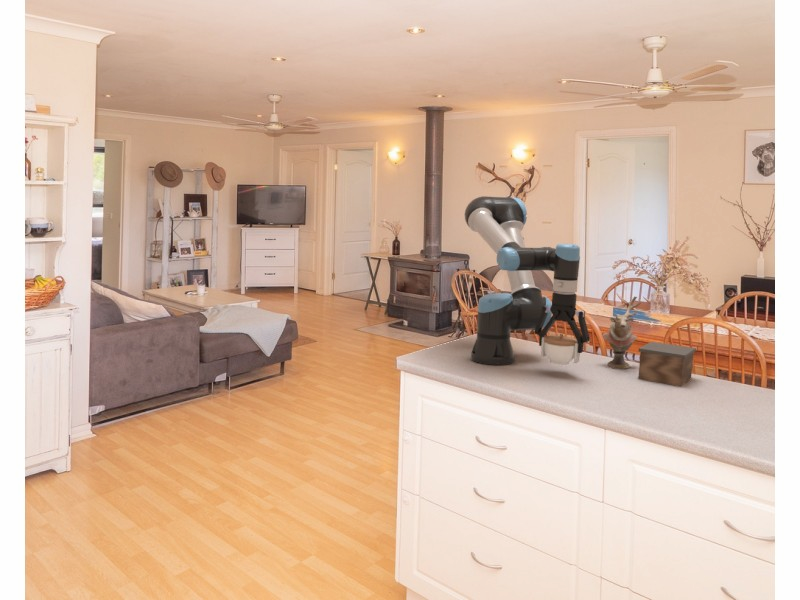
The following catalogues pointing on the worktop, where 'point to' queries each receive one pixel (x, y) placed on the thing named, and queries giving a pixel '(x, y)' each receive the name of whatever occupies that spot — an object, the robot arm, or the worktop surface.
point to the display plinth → (666, 363)
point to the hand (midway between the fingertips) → (559, 359)
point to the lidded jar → (559, 349)
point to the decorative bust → (621, 336)
